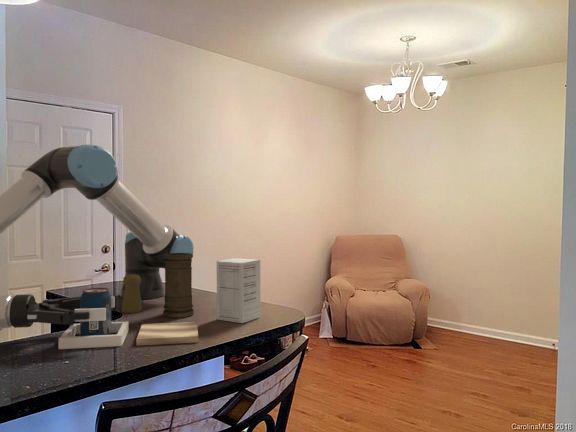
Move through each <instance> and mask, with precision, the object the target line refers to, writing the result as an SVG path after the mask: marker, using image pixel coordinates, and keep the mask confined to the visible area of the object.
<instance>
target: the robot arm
mask: <svg viewBox="0 0 576 432" xmlns="http://www.w3.org/2000/svg"><path fill="white" fill-rule="evenodd" d="M116 163H117V161H116V159H115V158H114V156H113V155H112V153H111V152H110V151H109V150H107V149H106V148H104V147H102V146H99V145H92V144H82V145H75V146H64V147H58V148H55V149H52V150H50V151H48V152H47V153H45V154H43V155H42V156H41V157H40V158H38V159H37V160H36V161H34V162H33V163H32V164H31V165H29V166H28V167H27V168H26V169H24V170H22V172H21V177H20V179H18V180H16V182H15V183H14V184H12V185H11V186H10V187H8V189H6V190H5V191H3V192H2V193H1V194H0V235H2V234H3V233H4V232H5V231H6V230H7V229H9V228H10V227H11V226H12V225H13V224H15V223H16V222H17V221H18V219H20V218H21V217H22V216H24V215H25V214H26V213H27V212H28V211H29V210H30V209H32V208H33V207H34V206H35V205H36V204H37V203H39V202H40V201H41V200H42V199H47V198H50V197H51V196H52V195H53V194H54V193H56V192H59V191H60V190H64V189H70V188H71V189H76V190H77V191H78V192H80V193H81V194H82V196H84V197H85V198H86V199H87V200H89V201H97V202H98V203H99V204H100V205H101V206H102V207H103V208H104V209H106V211H108V213H110V214H111V215H112V216H113V217H114V218H115V219H116V220H117V221H118V222H120V224H121V225H123V226H124V227H125V228H126V230H128V231H129V232H127V233H126V235H125V240H124V260H125V261H124V265H125V269H124V271H125V272H124V273H125V275H124V277H125V276H126V275H130V274H136V275H139V276H140V277H141V283H140V284H139V289H140V296H141V300H146V299H148V300H149V299H154V298H160V297H162V296H163V297H164V296H165V285H164V284H163V283H164V282H163V280H162V277H161V274H160V269H165V260H166V259H165V258H164V254H168V253H191V254H193V255H194V242H193V240H192V239H191V238H190V237H189V236H188V235H185V234H178V232H176V231H175V229H174V228H172V226H171V225H169V224H162V223H161V222H160V221H159V220H158V219H157V218H156V217H155V215H153V214H152V212H151V211H150V210H149V209H147V207H146V206H144V204H143V203H142V202H141V201H140V200H139V199H138V198H137V197H136V196H135V195H134V194H133V193H132V192H131V191H130V190H129V189H128V188H127V187H126V186H125V185H124V184H123V183H122V182H121V180H119V179H120V172H119V171H118V167H117V166H116ZM191 259H192V260H193V258H191ZM124 290H125V285H124V283H123V282H122V284H121V286H120V290H119V296H120V298H122V299H123V297H124ZM80 297H81V296H73V297H71V296H70V297H65V298H53V299H48V298H47V299H43V300H42V302H39V303H37V302H36V298H35V296H34V295H33V294H16V295H15V296H14V295H13V294H0V331H2V330H3V329H8V328H12V327H13V328H15V329H16V328H17V329H18V328H30V327H32V326H33V325H34V323H40V324H52V325H53V324H54V325H65V326H66V325H67V326H68V327H70V326H73V325H74V324H75V323H77V322H79V323H80V322H81V321H105V320H106V308H91V309H80ZM115 298H116V297H115V296H111V309H113V308H115V304H116V303H115V301H116V299H115ZM74 322H75V323H74Z"/></svg>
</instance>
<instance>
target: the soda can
mask: <svg viewBox="0 0 576 432" xmlns="http://www.w3.org/2000/svg"><path fill="white" fill-rule="evenodd" d="M79 297H80V296H79ZM111 297H112V295H111V293H110V292H109V288H107V287H91V288H85V289H83V290H82V294H81V297H80V309H91V308H106V320H105V321H81V322H79V324H80V334H79V336H95V335H112V333H111V322H112V308H111Z"/></svg>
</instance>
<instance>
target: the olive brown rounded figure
mask: <svg viewBox="0 0 576 432" xmlns="http://www.w3.org/2000/svg"><path fill="white" fill-rule="evenodd" d="M122 283H124V285H125V290H124V297H123V298H122V299H123V300H122V306H121V312H122V313H127V314H128V313H129V314H130V313H131V314H132V313H139V312H142V311H143V305H142V304H143V303H142V299H141V296H140V289H139V284H140V283H141V277H140V276H139V275H136V274H130V275H126V276H125V275H124V277H123V278H122Z"/></svg>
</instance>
